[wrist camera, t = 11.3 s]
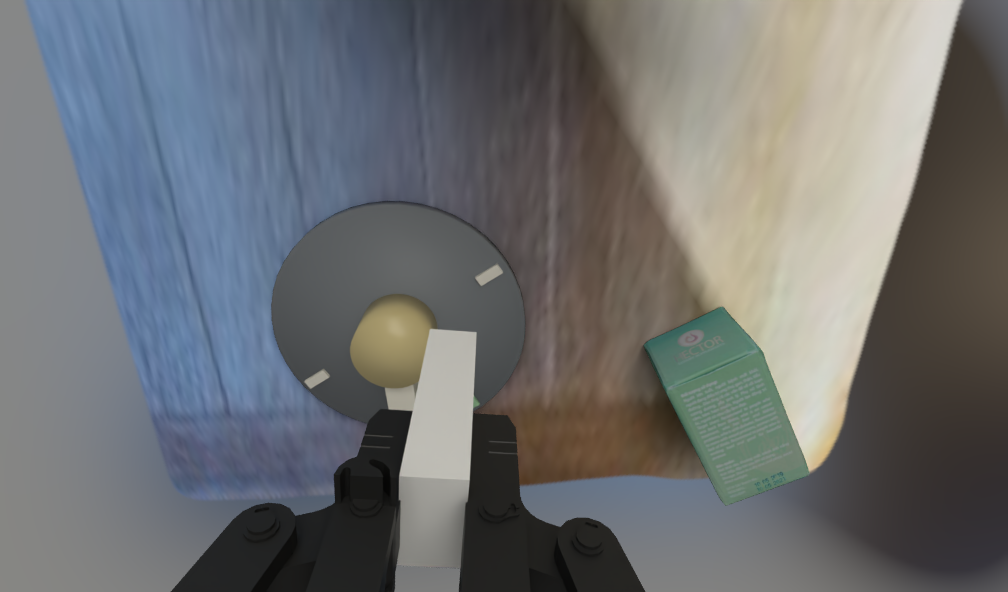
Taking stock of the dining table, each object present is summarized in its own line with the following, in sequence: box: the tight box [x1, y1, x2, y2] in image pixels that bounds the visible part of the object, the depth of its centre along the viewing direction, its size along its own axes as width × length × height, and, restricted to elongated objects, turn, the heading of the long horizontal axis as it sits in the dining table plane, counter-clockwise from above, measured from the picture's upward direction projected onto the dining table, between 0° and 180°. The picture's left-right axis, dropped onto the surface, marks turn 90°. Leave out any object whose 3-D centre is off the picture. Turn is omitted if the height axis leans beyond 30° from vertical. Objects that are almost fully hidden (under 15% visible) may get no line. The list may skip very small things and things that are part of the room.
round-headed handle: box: [350, 294, 438, 411], centre depth 43 cm, size 13×6×4 cm, turn 3°
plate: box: [271, 201, 525, 423], centre depth 44 cm, size 20×20×2 cm
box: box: [644, 307, 810, 506], centre depth 45 cm, size 7×14×8 cm, turn 29°
